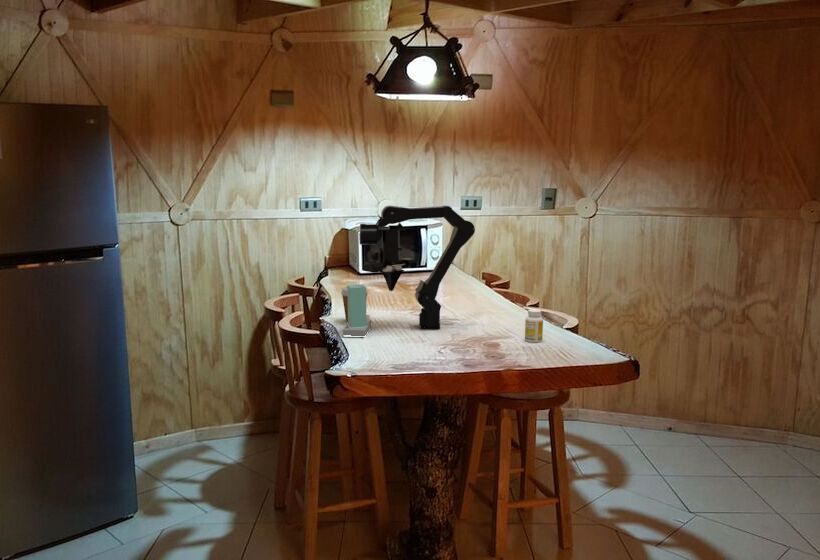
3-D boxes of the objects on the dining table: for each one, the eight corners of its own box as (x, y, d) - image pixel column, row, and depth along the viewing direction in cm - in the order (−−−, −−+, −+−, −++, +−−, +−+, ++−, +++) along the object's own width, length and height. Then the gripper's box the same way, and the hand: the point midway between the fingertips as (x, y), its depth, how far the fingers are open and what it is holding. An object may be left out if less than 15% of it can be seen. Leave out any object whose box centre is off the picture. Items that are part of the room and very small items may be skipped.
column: (362, 323, 207) (362, 284, 205) (366, 326, 202) (365, 287, 200) (348, 324, 205) (347, 285, 203) (351, 327, 200) (350, 287, 198)
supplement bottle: (527, 343, 191) (528, 312, 190) (522, 338, 196) (523, 308, 195) (544, 342, 192) (545, 311, 190) (539, 338, 197) (540, 308, 195)
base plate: (372, 327, 211) (372, 314, 211) (365, 338, 198) (365, 324, 197) (350, 327, 212) (349, 314, 211) (342, 337, 198) (341, 323, 198)
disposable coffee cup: (344, 325, 214) (343, 291, 212) (339, 319, 223) (338, 286, 221) (371, 324, 217) (370, 290, 215) (365, 318, 226) (365, 285, 224)
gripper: (397, 240, 217) (397, 284, 220) (353, 244, 205) (354, 290, 208) (418, 242, 209) (418, 288, 211) (373, 246, 197) (374, 295, 200)
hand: (391, 290), depth 208 cm, fingers closed
